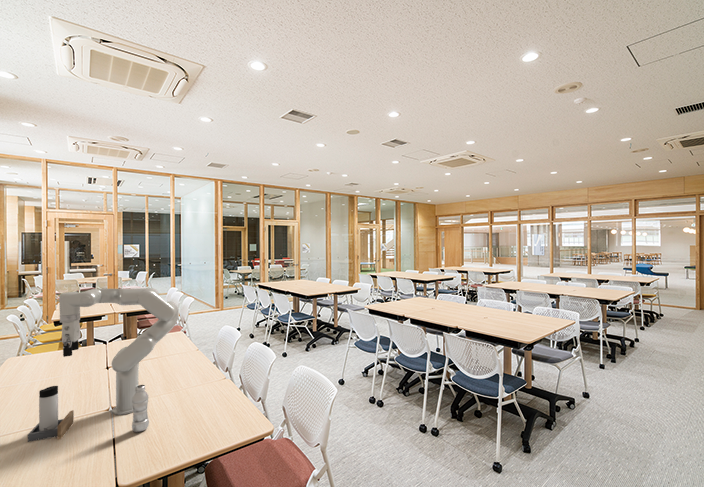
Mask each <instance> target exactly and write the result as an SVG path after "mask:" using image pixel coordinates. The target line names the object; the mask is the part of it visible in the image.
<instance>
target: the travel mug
mask: <svg viewBox="0 0 704 487" xmlns="http://www.w3.org/2000/svg"><path fill="white" fill-rule="evenodd" d="M38 392H39V393H38V394H39V395H38V397H39V399H38V406H39V407H38V408H39V410H38V413H39V415H38V420H39V422H38V423H39V432H40V431H46V430H52V429H57V428H58V420H59V385H52V386H48V387H46V388H44V389H43V388H42V389H40V390H39V391H38Z"/></svg>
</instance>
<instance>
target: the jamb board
mask: <svg viewBox="0 0 704 487" xmlns="http://www.w3.org/2000/svg"><path fill="white" fill-rule="evenodd" d="M74 413H75V411H74V410H70V411H69V412H67V414H66V415H65V416H64V418H62V419H63V420H62V421H61V423H60V424H59V425H58V437H57V441H59V440H62V439H63V437H64V436H65V435H66V434H67V433H68V431H69V429H71V427H72V426H73V425H74V421H75V420H74V416H75V415H74Z"/></svg>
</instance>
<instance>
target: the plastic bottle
mask: <svg viewBox="0 0 704 487" xmlns="http://www.w3.org/2000/svg"><path fill="white" fill-rule="evenodd" d="M135 392H136V393H135V394H134V396H133V397H132V406H133V412H132V413H133V415H132V423H131V429H132V431H133V432H134V433H140V432H144V431H145V430H147V429H148V428H149V425H150V419H149V415H148V403H149V394H148V392H146V385H145V384H138V386H136V388H135Z"/></svg>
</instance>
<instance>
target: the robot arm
mask: <svg viewBox="0 0 704 487" xmlns="http://www.w3.org/2000/svg"><path fill="white" fill-rule="evenodd" d="M58 297H59V298H58V299H59V301H58V302H59V303H58V304H59V323H61V340H62V341H61V342H62V351H63V352H62V356H63V357H64V358H65V357H72V356H73V351H76V350H77V351H78V350H79V349H80V348H79V347H80V346H79V344H80V343H79V339H80V338H81V336H82V335H81V325H80V320H81V308H89V307H93V306H95V304H117V305H119V306H137V305H139V306H141V307H142V308H143V309H145V311H147V312H148V313H149V314H151V315H152V316H154V317H155V318H157V319H158V320H156V322H154V323H153V324H152V325H151V326H150V327H148V328H147V329H146V330H144V331H143V332H142V333H141V334H139V335H138V336H137V337H136V338H135V340H133V341H132V342H131V343H130V344H129V345H127V346H125V347H123V348H120V350H119V351H118V352H117V353H116V354H115V356H114V357H113V359H112V361H111V368H112V370H113V371H114V372H115V374H116V375H115V406H114V407H113V408H112V410H111V411H112V414H113V415H116V416H121V415H122V416H123V415H127V414H132V413H133V406H132V397H133V396H134V394H135V393H136V392H135V388H136V386H138V385H139V366H140V365H139V364H140V363H141V361H143V360H144V358H146V357H147V356H148V355H149V354H150V353H152V351H153V350H154V348H155V347H156V345H157V343H159V342H160V341H161V340H162V339H163V338H164V337H166V336H167V334H169V333H170V332H171V331H172V330H173V328H174V327H175V326H176V324H177V322H178V319H179V314H180V313H179V307H178V305H177V304H176V303H175V302H173V301H166V300H164V299H163V298H162V297H160V292H159V291H158V290H157V289H156V288H154V287H153V288H151V287H145V288H144V287H143V288H142V287H140V288H137V287H136V288H92V289H88V290H86V291H82V292H78V291H68V292H67V291H66V292H63V293H60V294H59V296H58Z"/></svg>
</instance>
